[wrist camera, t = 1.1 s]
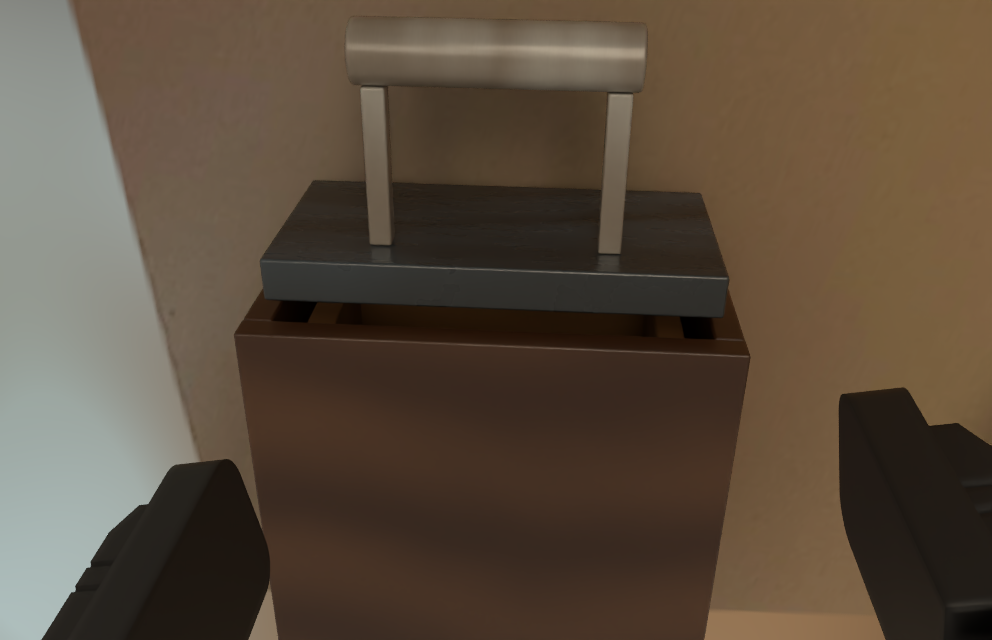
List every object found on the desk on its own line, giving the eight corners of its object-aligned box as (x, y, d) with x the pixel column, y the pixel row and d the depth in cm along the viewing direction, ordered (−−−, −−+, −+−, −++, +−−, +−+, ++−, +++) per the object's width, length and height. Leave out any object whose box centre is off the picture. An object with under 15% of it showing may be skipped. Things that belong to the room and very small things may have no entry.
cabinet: (305, 218, 31) (232, 334, 24) (711, 232, 30) (751, 355, 23) (333, 506, 37) (281, 663, 30) (673, 524, 36) (696, 689, 29)
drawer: (294, -18, 26) (229, 26, 21) (726, -9, 26) (764, 39, 20) (338, 464, 34) (298, 579, 29) (666, 480, 34) (683, 600, 29)
